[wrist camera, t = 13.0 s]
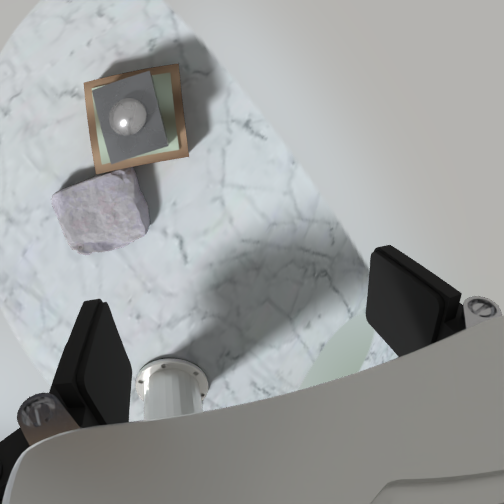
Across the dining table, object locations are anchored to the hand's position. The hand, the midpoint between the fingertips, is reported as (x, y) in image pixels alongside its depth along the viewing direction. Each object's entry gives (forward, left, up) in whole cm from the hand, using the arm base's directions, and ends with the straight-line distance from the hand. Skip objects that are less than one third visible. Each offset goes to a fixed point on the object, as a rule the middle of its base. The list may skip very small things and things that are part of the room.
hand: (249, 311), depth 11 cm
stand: (+8, +6, -32) cm, 34 cm away
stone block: (-3, +13, -33) cm, 35 cm away
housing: (+8, +6, -28) cm, 30 cm away
